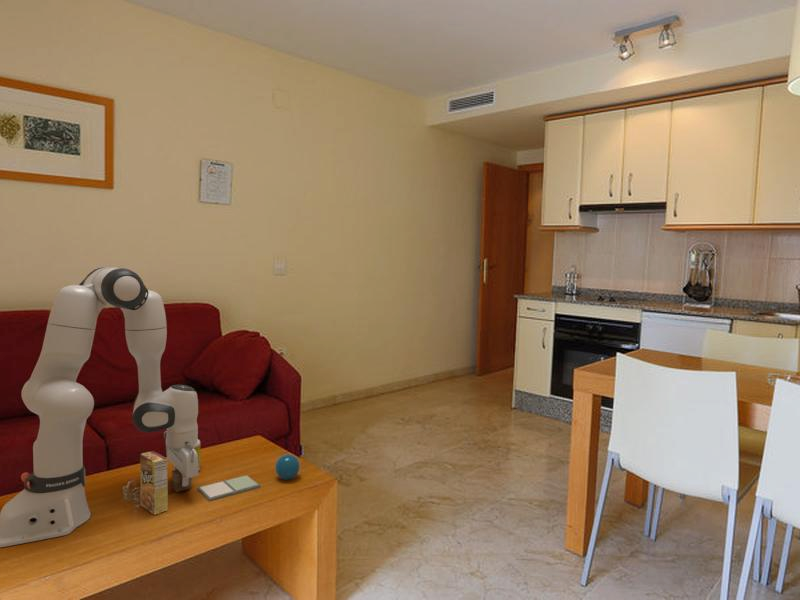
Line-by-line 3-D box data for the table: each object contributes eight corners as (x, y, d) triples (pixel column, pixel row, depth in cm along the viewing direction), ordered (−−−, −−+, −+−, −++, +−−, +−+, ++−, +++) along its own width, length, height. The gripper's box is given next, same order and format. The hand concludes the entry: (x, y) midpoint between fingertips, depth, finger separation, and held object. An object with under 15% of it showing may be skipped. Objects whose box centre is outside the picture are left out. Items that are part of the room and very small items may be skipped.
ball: (271, 477, 176) (271, 453, 175) (293, 471, 181) (293, 448, 180) (281, 485, 170) (281, 461, 169) (304, 480, 174) (304, 456, 174)
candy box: (139, 505, 154) (139, 453, 153) (154, 500, 157) (153, 450, 156) (154, 515, 148) (153, 462, 147) (169, 510, 152) (168, 457, 150)
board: (209, 501, 158) (209, 498, 158) (197, 489, 166) (197, 486, 165) (260, 487, 168) (260, 484, 168) (246, 476, 176) (246, 474, 176)
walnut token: (176, 491, 161) (176, 475, 161) (171, 486, 165) (172, 470, 165) (191, 488, 164) (191, 472, 164) (186, 483, 168) (187, 467, 167)
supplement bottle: (204, 467, 183) (204, 430, 182) (194, 475, 176) (194, 436, 175) (185, 465, 183) (185, 429, 182) (175, 473, 177) (175, 435, 176)
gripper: (204, 446, 157) (203, 491, 158) (182, 427, 173) (182, 469, 174) (181, 449, 153) (181, 496, 154) (162, 430, 169) (161, 473, 170)
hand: (181, 482), depth 164 cm, fingers closed on walnut token, 4 cm apart
